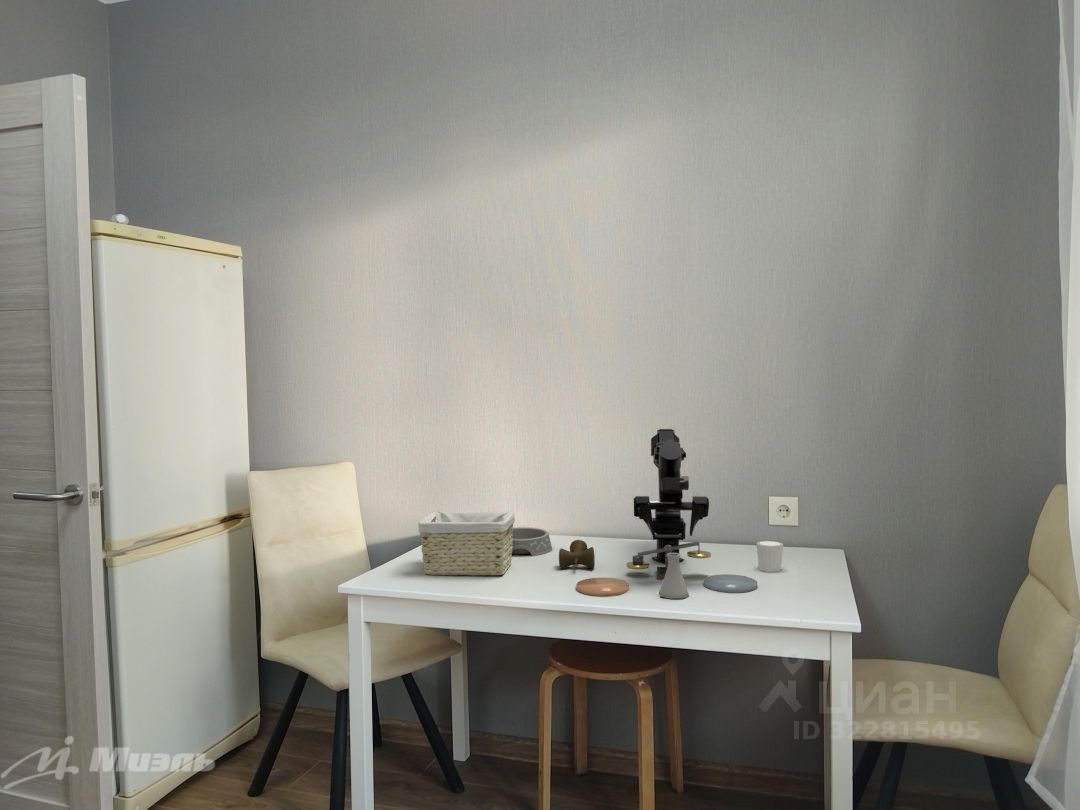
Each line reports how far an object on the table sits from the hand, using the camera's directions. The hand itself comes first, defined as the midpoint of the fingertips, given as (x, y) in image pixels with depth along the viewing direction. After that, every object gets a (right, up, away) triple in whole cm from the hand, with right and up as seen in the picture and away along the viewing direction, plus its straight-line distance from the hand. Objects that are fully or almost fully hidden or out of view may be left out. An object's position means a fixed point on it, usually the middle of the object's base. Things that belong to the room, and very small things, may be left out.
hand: (672, 535), depth 203 cm
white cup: (+29, -12, +16) cm, 35 cm away
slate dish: (+15, -13, +1) cm, 19 cm away
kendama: (-22, -12, +24) cm, 35 cm away
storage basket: (-52, -13, +21) cm, 57 cm away
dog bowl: (-38, -12, +42) cm, 58 cm away
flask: (-1, -14, -6) cm, 15 cm away
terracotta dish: (-17, -13, 0) cm, 22 cm away
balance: (+1, -12, +11) cm, 17 cm away
